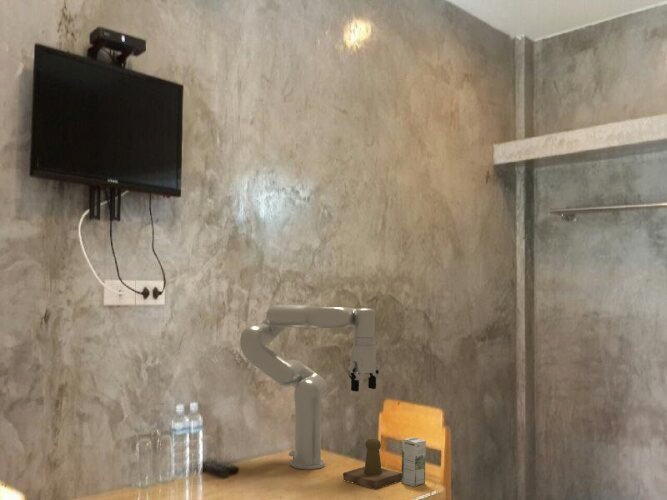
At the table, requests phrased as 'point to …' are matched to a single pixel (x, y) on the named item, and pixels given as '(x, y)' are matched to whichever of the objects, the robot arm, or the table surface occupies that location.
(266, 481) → the table surface
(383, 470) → the walnut base
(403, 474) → the syrup box
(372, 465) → the cork
